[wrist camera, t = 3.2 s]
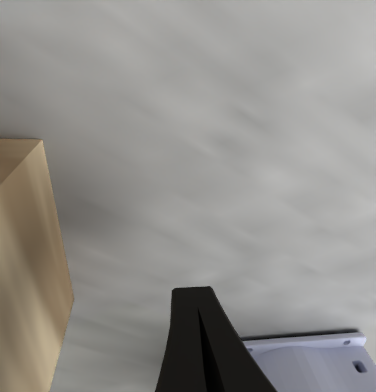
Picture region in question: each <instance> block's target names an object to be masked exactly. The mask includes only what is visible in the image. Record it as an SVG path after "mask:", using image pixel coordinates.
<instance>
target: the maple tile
mask: <svg viewBox="0 0 376 392" xmlns="http://www.w3.org/2000/svg"><path fill="white" fill-rule="evenodd" d="M73 302H74V296H73V291H72V286H71V281H70V276H69V271H68V266H67V261H66V256H65V251H64V246H63V241H62V236H61V231H60V226H59V221H58V216H57V211H56V206H55V201H54V196H53V191H52V186H51V181H50V176H49V171H48V166H47V161H46V156H45V151H44V146H43V141H42V139H0V392H49V391H50V387H51V383H52V380H53V376H54V372H55V368H56V365H57V361H58V357H59V354H60V350H61V346H62V343H63V339H64V335H65V331H66V328H67V324H68V320H69V317H70V313H71V309H72V305H73Z"/></svg>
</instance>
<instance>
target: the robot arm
mask: <svg viewBox="0 0 376 392" xmlns="http://www.w3.org/2000/svg"><path fill="white" fill-rule="evenodd" d="M366 339H367V338H366V337H365V335H364V334H363V333H361V332H356V333H343V334H330V335H316V336H303V337H290V338H276V339H263V340H250V341H242V340H241V339H240V337H239V336H238V334H237V332H236V331H235V329H234V327H233V326H232V324H231V322H230V321H229V319H228V317H227V315H226V314H225V312H224V310H223V308H222V307H221V305H220V303H219V301H218V299H217V297H216V295H215V293H214V291H213V289H212V288H211V287H210V286H207V287H186V288H175V289H173V290H172V299H171V319H170V330H169V335H168V341H167V346H166V351H165V355H164V359H163V363H162V367H161V371H160V375H159V379H158V383H157V386H156V390H155V392H376V365H375V363H374V362H373V360H372V359H371V357H370V356H369V354H368V353H367V351H366V350H365V348H364V347H363V345H364V343H365V342H366Z"/></svg>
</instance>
